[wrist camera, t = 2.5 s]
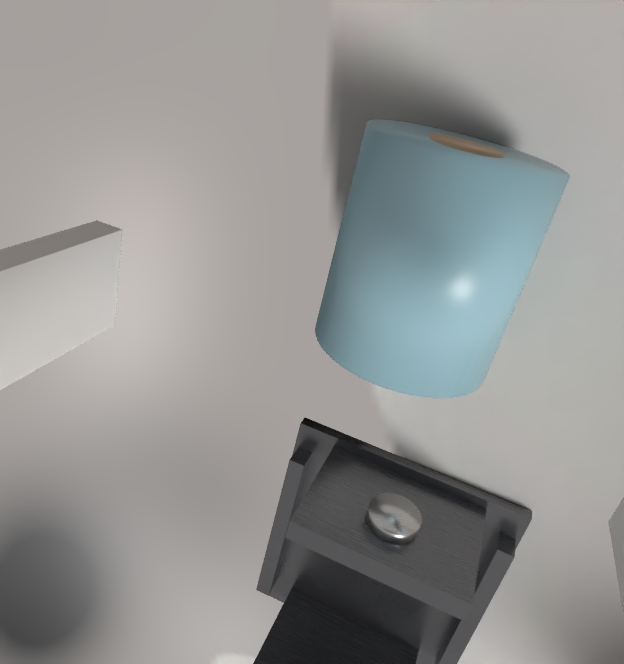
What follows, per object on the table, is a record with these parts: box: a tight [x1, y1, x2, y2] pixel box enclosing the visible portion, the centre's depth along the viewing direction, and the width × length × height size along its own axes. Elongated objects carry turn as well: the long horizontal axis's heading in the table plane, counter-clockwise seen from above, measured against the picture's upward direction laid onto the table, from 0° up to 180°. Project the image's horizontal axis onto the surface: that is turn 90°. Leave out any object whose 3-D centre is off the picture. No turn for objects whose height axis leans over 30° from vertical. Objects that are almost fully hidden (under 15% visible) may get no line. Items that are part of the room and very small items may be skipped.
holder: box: [253, 418, 532, 664], centre depth 30 cm, size 13×12×7 cm
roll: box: [315, 119, 570, 398], centre depth 22 cm, size 8×7×7 cm
